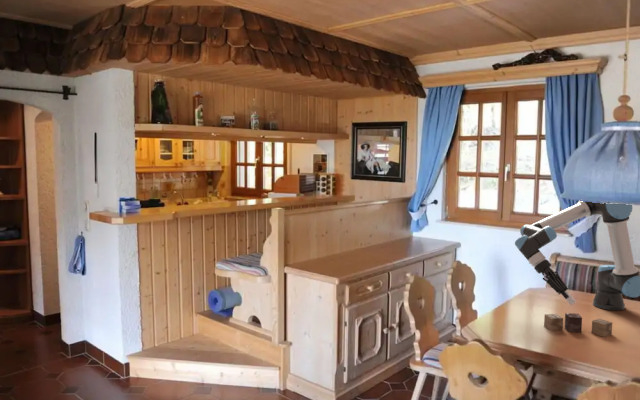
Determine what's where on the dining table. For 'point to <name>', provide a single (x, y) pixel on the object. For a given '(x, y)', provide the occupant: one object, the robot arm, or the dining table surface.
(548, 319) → the marked block two
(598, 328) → the marked block one
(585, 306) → the dining table surface
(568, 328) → the box
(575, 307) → the dining table surface
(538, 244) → the robot arm
